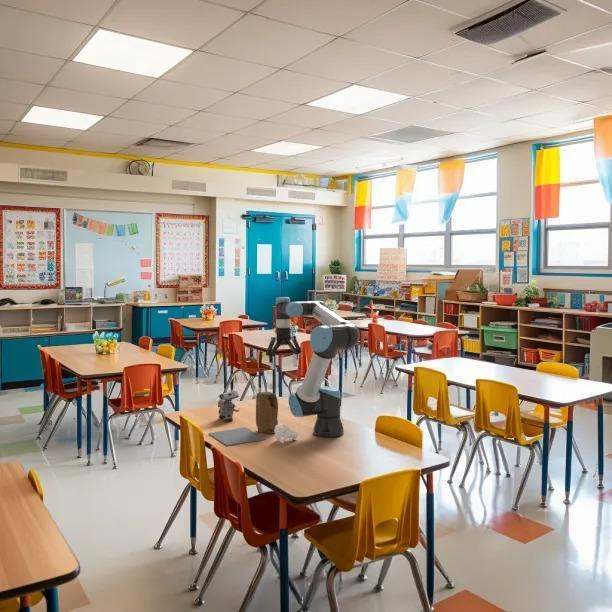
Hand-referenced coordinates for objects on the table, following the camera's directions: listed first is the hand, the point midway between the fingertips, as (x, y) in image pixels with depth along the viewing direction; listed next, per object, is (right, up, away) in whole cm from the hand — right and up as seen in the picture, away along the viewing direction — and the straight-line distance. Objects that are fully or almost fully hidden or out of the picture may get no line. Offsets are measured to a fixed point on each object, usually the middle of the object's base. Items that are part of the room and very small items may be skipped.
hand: (284, 367), depth 310 cm
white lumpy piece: (+2, -33, -24) cm, 41 cm away
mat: (-23, -32, -18) cm, 43 cm away
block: (-8, -32, -9) cm, 34 cm away
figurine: (-30, -29, +13) cm, 44 cm away
